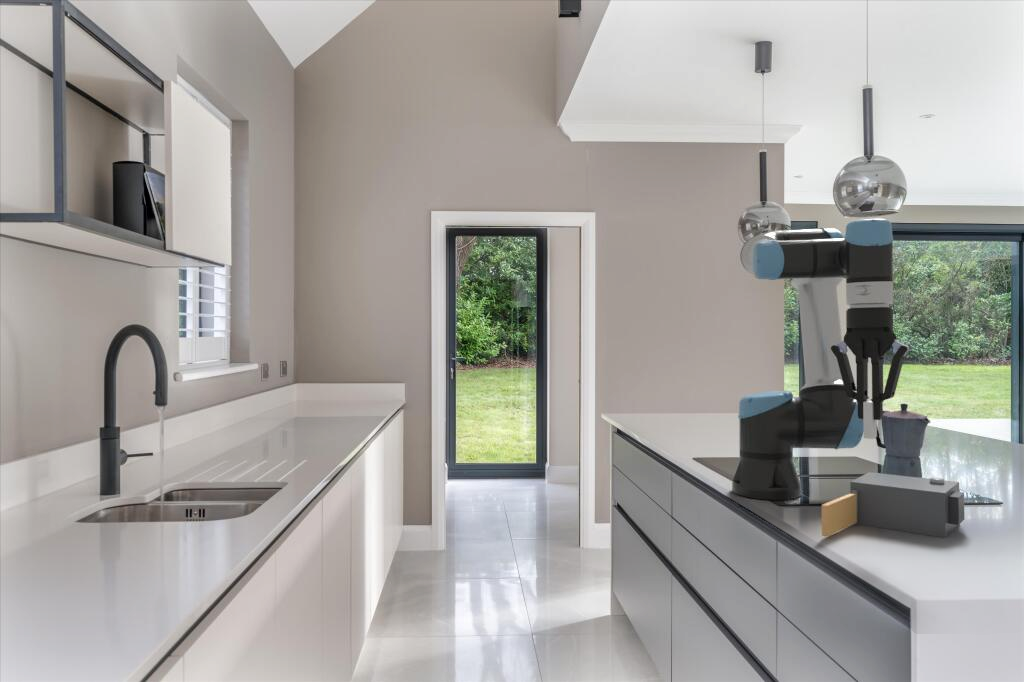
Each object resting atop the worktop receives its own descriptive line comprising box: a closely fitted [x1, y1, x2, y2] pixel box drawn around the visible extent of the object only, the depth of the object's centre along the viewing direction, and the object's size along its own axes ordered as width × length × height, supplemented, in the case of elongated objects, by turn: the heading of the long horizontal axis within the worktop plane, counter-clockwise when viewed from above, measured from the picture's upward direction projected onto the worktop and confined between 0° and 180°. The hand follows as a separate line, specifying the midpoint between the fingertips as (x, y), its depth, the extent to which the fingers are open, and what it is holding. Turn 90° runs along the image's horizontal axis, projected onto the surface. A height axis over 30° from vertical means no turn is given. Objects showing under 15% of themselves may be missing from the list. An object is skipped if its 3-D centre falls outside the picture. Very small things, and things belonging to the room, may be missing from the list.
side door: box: [821, 490, 859, 537], centre depth 133 cm, size 14×1×6 cm, turn 133°
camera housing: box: [849, 471, 965, 539], centre depth 137 cm, size 18×12×9 cm
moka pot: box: [875, 403, 931, 478], centre depth 168 cm, size 10×15×20 cm, turn 28°
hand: (870, 437), depth 129 cm, fingers closed
